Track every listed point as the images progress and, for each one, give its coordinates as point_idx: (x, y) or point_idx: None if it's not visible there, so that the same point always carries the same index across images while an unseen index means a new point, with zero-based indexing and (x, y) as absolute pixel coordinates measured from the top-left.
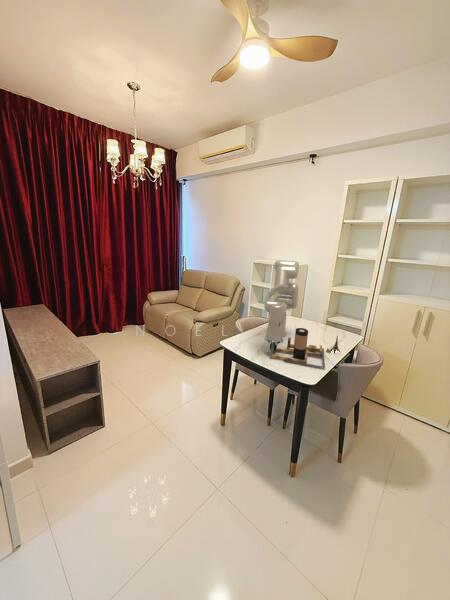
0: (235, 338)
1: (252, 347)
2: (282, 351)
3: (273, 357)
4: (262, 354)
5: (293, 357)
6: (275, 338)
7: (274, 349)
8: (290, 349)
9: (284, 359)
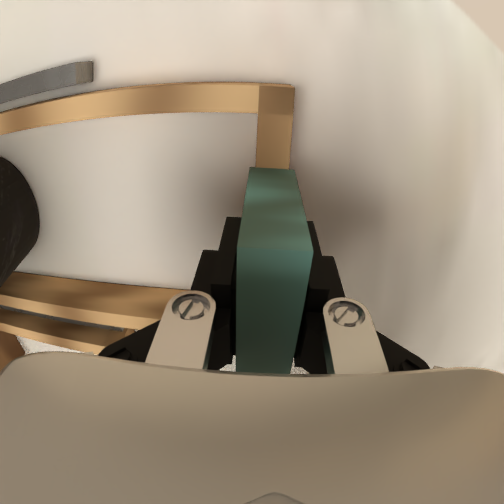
0: None
1: (477, 304)
2: (156, 301)
3: (238, 83)
4: (403, 178)
5: (12, 191)
6: (162, 486)
7: (235, 227)
8: (89, 340)
9: (73, 79)
